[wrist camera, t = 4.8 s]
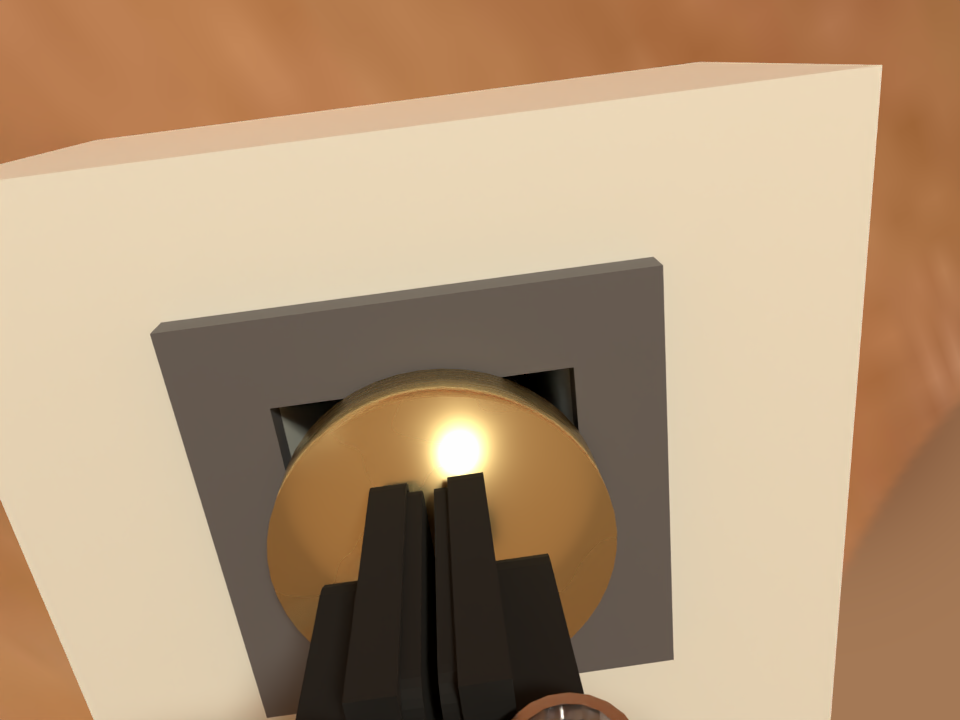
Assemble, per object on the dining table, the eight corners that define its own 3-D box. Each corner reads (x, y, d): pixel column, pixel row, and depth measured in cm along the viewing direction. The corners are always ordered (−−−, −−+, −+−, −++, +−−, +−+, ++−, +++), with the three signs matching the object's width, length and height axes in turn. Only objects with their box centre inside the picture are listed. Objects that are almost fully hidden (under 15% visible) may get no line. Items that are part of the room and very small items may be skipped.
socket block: (704, 748, 26) (817, 1028, 18) (298, 807, 25) (245, 1115, 18) (700, 62, 17) (903, 65, 10) (95, 140, 17) (-155, 202, 10)
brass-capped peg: (550, 435, 20) (625, 664, 12) (352, 462, 20) (307, 709, 12) (531, 240, 18) (607, 373, 10) (311, 270, 18) (228, 424, 10)
